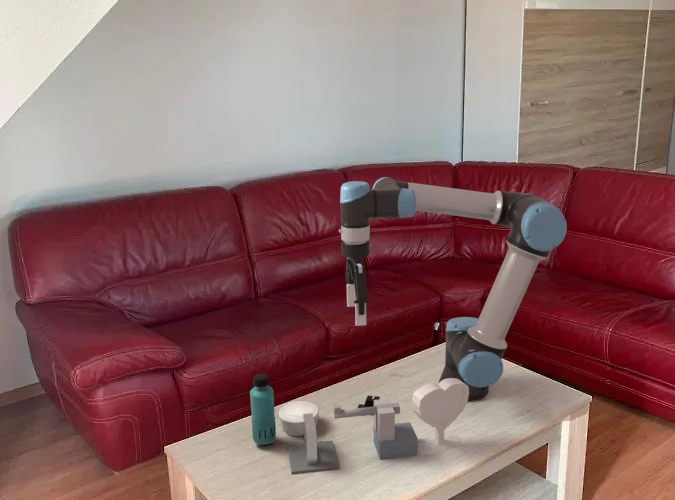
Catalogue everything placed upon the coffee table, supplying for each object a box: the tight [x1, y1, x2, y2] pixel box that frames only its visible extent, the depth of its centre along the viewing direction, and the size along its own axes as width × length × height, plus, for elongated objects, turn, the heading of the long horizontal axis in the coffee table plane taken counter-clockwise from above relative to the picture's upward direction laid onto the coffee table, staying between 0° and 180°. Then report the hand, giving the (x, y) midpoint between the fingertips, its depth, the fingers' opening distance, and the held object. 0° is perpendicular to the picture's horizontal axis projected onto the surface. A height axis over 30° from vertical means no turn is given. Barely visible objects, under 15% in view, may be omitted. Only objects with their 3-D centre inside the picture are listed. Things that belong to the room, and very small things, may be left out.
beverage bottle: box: [249, 373, 277, 446], centre depth 178 cm, size 6×7×20 cm
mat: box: [287, 440, 340, 475], centre depth 174 cm, size 12×12×1 cm
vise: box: [333, 398, 419, 460], centre depth 175 cm, size 21×8×14 cm, turn 99°
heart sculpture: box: [411, 378, 469, 456], centre depth 176 cm, size 16×5×18 cm, turn 117°
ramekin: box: [278, 400, 320, 437], centre depth 188 cm, size 11×11×5 cm
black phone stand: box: [357, 394, 381, 417], centre depth 196 cm, size 12×7×5 cm, turn 75°
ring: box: [303, 413, 318, 465], centre depth 173 cm, size 2×8×10 cm, turn 9°
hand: (356, 315), depth 183 cm, fingers open, 13 cm apart
